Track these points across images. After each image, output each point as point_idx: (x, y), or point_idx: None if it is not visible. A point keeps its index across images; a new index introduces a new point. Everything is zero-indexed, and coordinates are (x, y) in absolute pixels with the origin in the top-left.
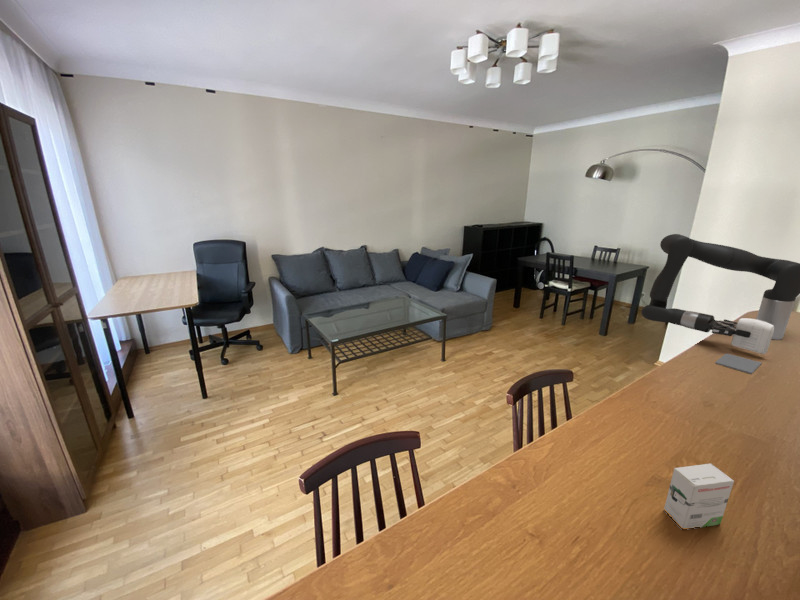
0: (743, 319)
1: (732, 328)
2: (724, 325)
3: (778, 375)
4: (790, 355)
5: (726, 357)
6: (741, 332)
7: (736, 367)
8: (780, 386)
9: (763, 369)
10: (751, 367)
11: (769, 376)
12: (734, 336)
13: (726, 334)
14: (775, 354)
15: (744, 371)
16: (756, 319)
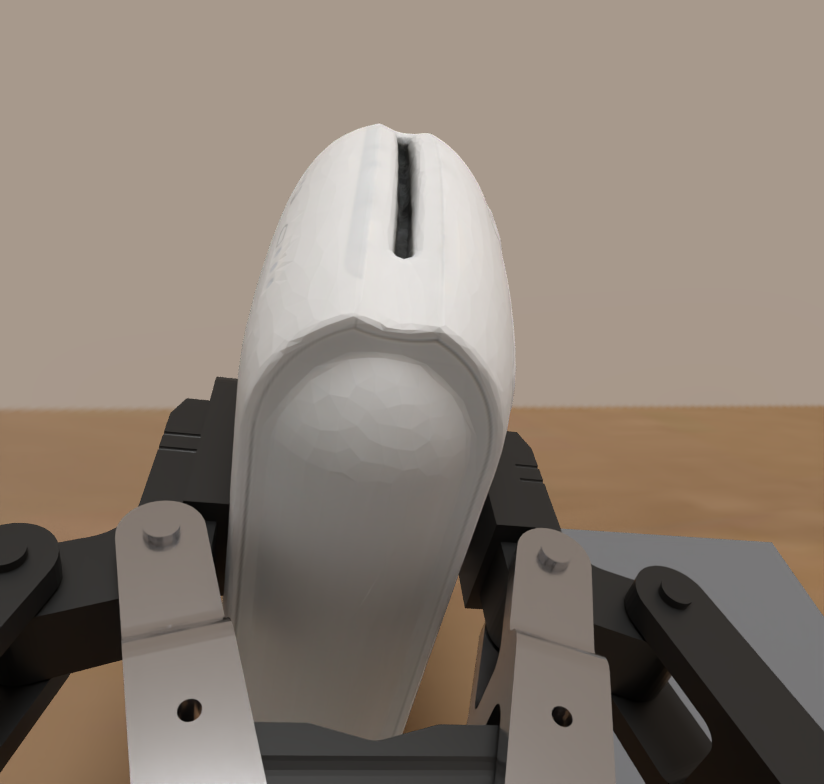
0: (476, 279)
1: (555, 600)
2: (613, 762)
3: (586, 452)
4: (30, 421)
5: None
6: (546, 491)
7: (817, 633)
8: (735, 440)
9: (578, 514)
10: (677, 558)
11: (662, 481)
12: (422, 674)
13: (694, 719)
14: (86, 490)
15: (793, 584)
16: (380, 147)
